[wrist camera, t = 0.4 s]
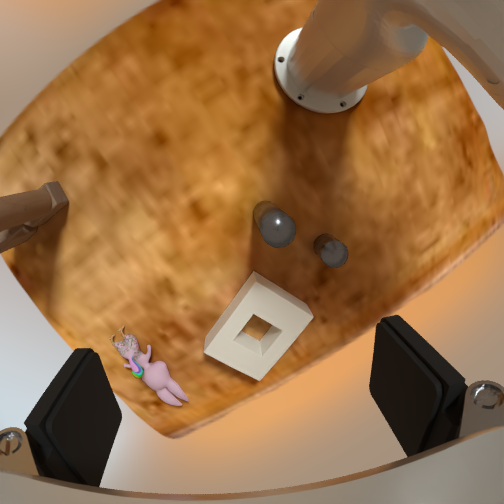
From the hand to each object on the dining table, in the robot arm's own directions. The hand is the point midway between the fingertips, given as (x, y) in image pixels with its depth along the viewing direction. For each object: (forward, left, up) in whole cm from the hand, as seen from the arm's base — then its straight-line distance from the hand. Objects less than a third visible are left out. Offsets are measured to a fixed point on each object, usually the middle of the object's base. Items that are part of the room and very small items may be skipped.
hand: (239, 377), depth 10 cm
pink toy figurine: (+25, +2, -32) cm, 40 cm away
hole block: (+10, +11, -31) cm, 34 cm away
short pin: (-4, +12, -31) cm, 34 cm away
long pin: (-3, +3, -31) cm, 31 cm away
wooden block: (+14, -24, -31) cm, 42 cm away
